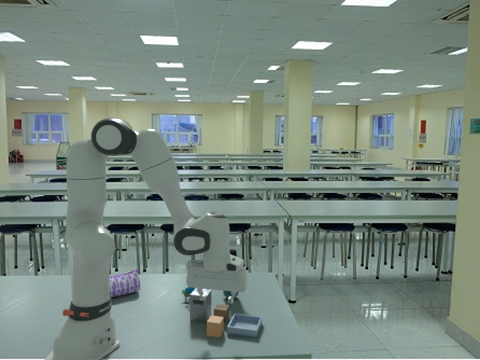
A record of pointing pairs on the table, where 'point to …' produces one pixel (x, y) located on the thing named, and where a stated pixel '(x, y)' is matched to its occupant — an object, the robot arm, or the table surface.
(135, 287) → the pencil case
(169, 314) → the table surface
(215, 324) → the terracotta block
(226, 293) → the beverage bottle
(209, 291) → the box
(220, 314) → the walnut block
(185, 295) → the gear
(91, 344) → the robot arm
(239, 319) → the tray
